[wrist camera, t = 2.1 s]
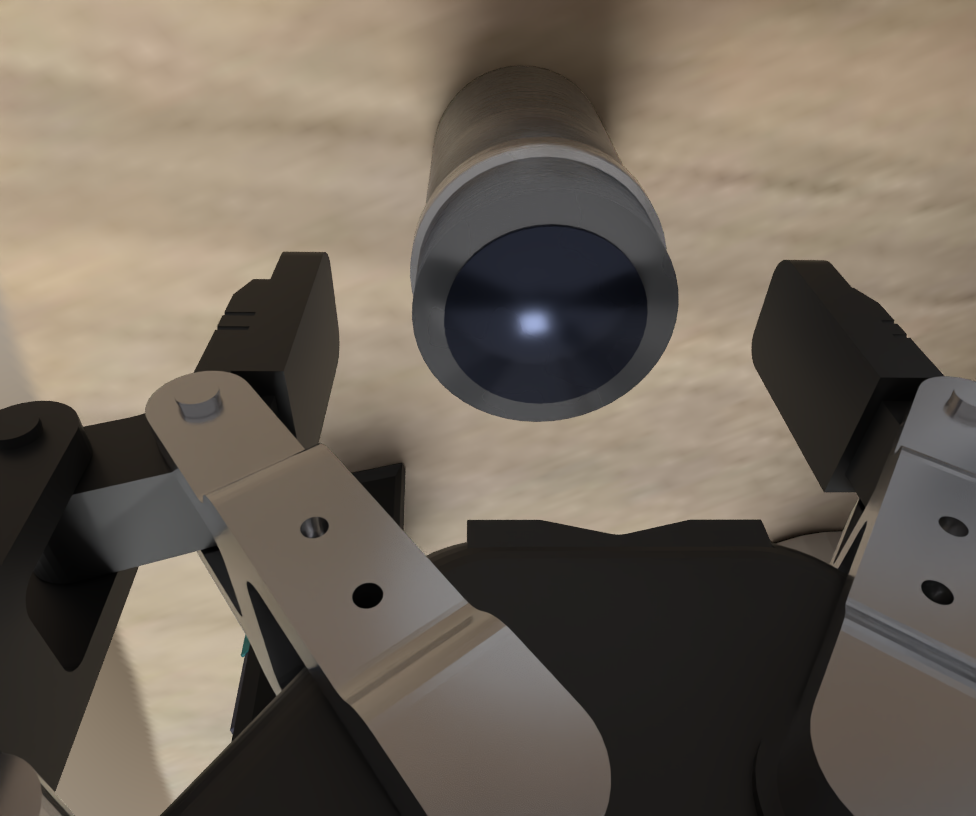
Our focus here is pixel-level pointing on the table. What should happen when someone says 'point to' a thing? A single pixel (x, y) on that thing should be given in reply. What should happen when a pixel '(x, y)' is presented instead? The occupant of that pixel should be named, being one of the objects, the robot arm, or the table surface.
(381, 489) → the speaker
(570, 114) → the lens
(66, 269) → the table surface
